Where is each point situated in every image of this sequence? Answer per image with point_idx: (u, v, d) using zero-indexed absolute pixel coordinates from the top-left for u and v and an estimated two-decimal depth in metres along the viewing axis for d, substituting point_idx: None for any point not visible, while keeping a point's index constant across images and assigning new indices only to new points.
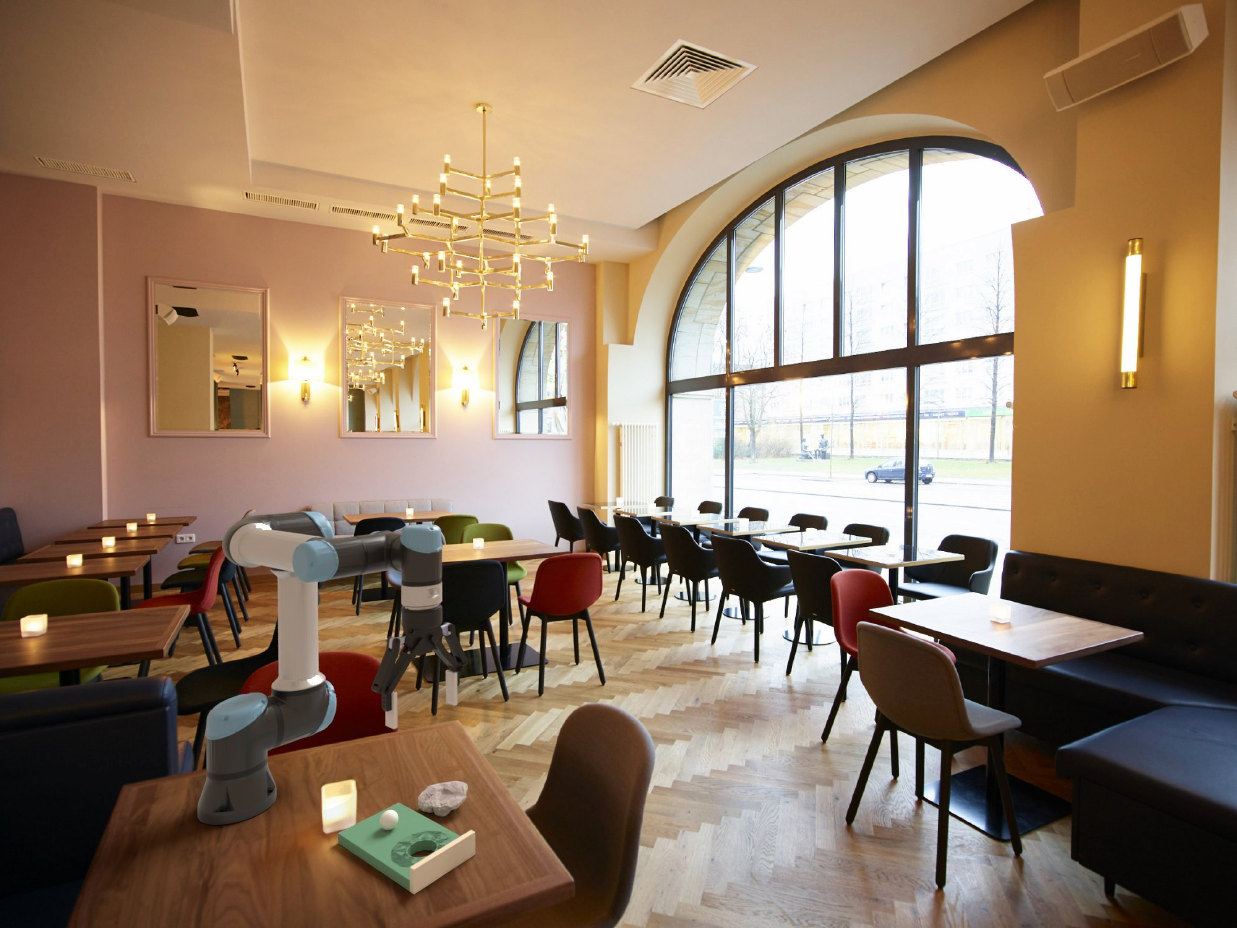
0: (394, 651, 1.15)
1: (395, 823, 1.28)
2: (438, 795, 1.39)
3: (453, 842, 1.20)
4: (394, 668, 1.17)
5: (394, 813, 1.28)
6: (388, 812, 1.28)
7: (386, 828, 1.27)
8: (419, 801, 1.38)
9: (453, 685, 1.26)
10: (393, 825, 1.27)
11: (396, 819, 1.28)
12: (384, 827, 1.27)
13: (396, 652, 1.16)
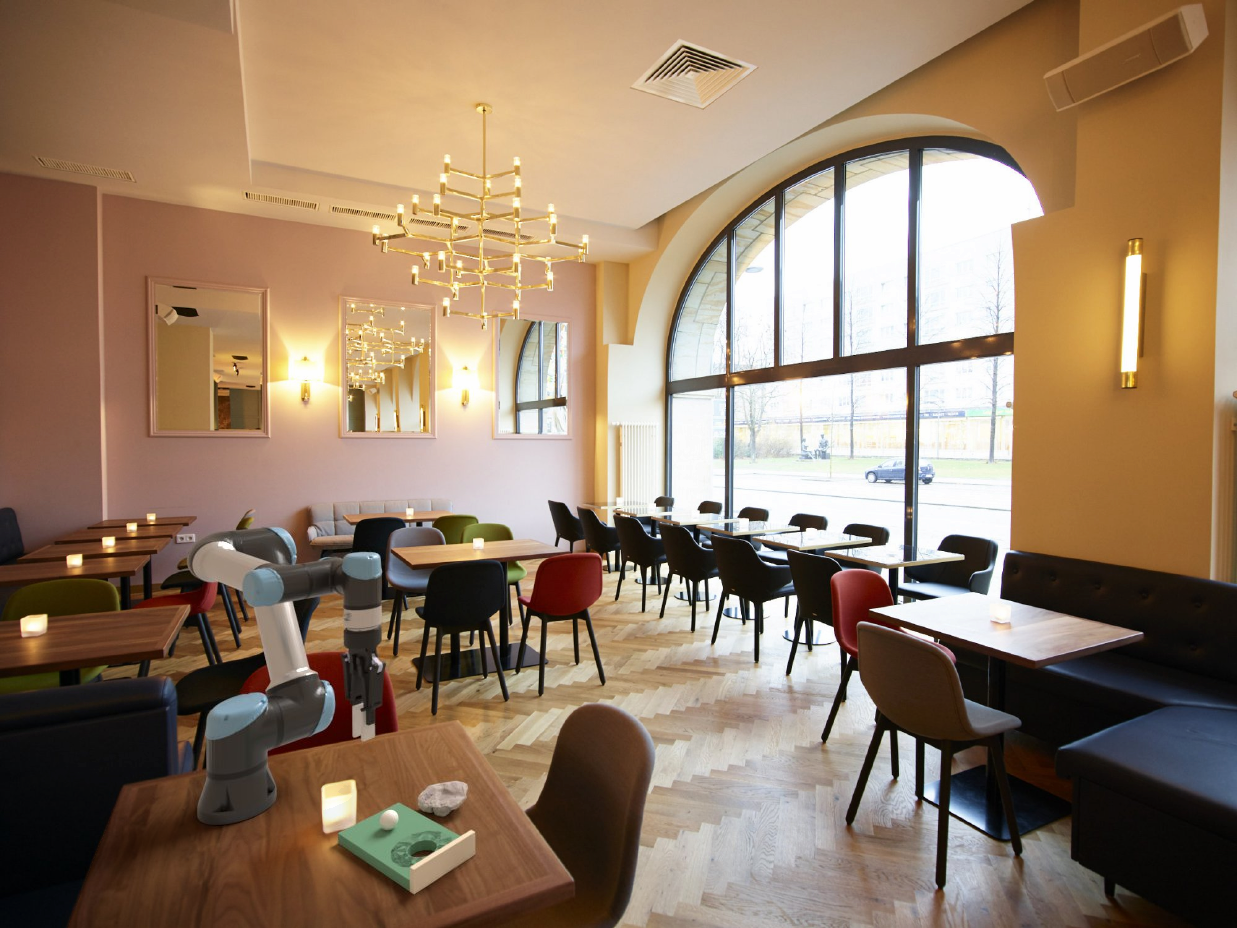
0: (343, 664, 1.36)
1: (395, 823, 1.28)
2: (438, 795, 1.39)
3: (453, 842, 1.20)
4: None
5: (394, 813, 1.28)
6: (388, 812, 1.28)
7: (386, 828, 1.27)
8: (419, 801, 1.38)
9: None
10: (393, 825, 1.27)
11: (396, 819, 1.28)
12: (384, 827, 1.27)
13: (344, 665, 1.35)
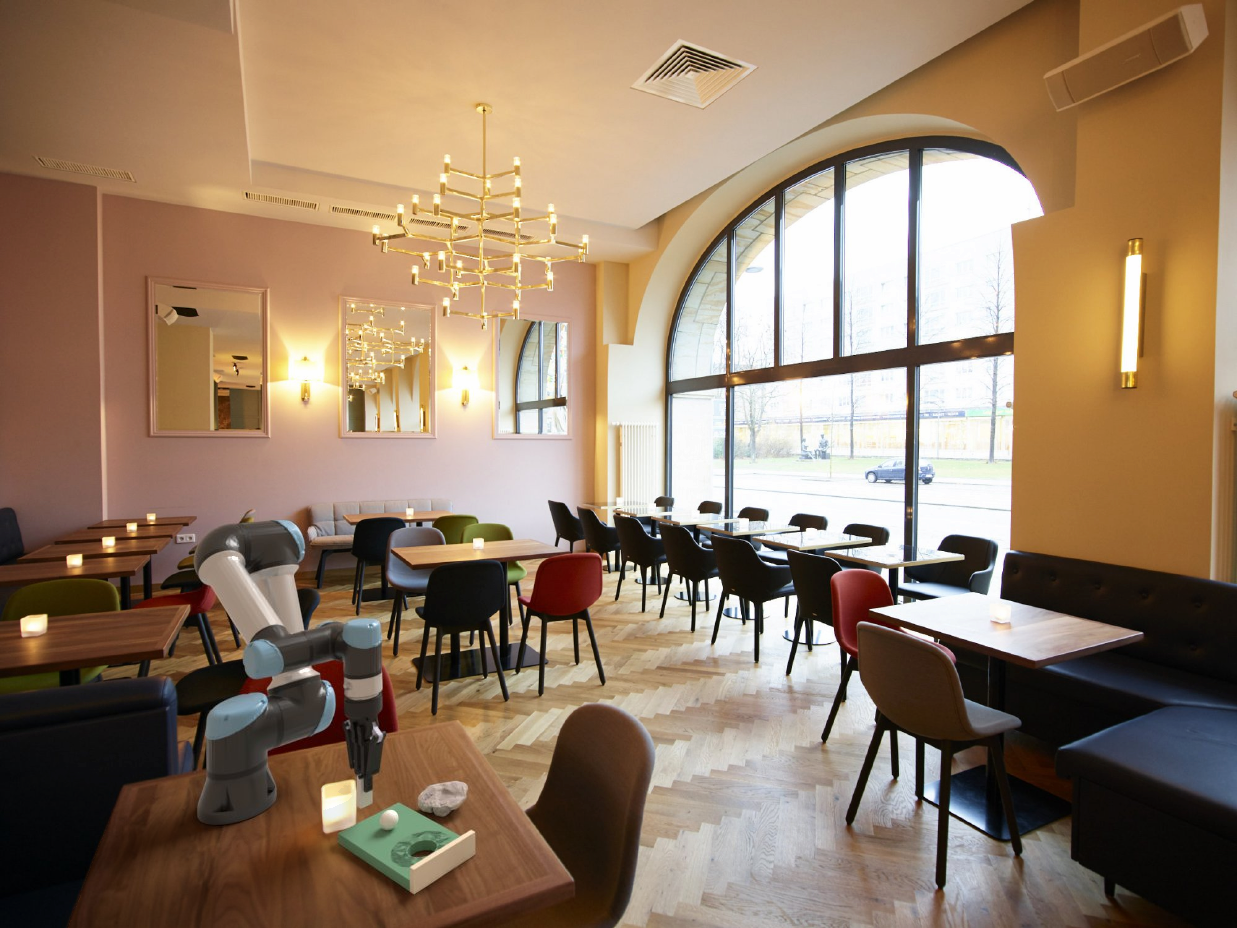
0: (345, 733, 1.36)
1: (395, 823, 1.28)
2: (438, 795, 1.39)
3: (453, 842, 1.20)
4: None
5: (394, 813, 1.28)
6: (388, 812, 1.28)
7: (386, 828, 1.27)
8: (419, 801, 1.38)
9: None
10: (393, 825, 1.27)
11: (396, 819, 1.28)
12: (384, 827, 1.27)
13: (346, 733, 1.35)
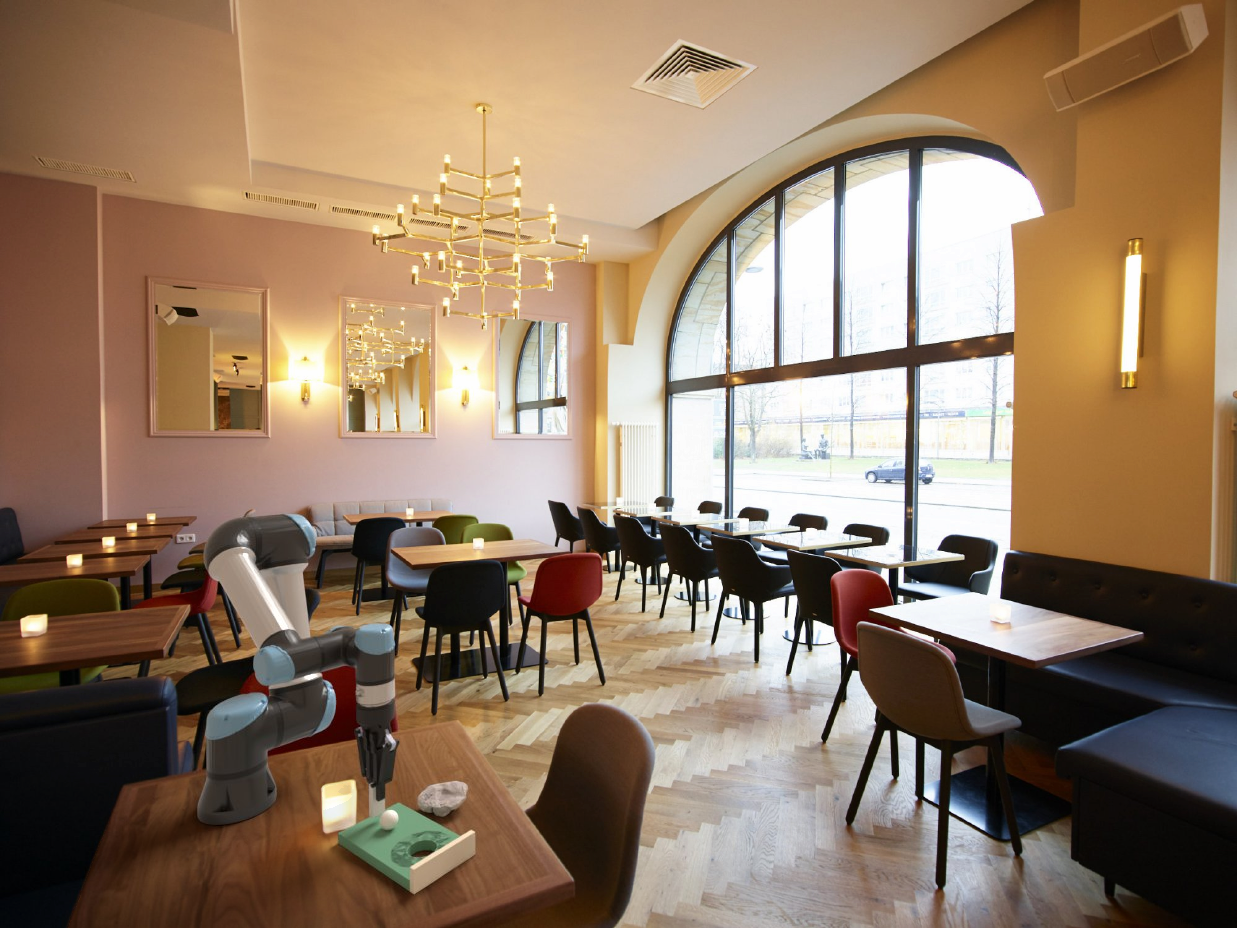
0: (357, 740, 1.33)
1: (395, 823, 1.28)
2: (438, 795, 1.39)
3: (453, 842, 1.20)
4: None
5: (394, 813, 1.28)
6: (388, 812, 1.28)
7: (386, 828, 1.27)
8: (419, 801, 1.38)
9: None
10: (393, 825, 1.27)
11: (396, 819, 1.28)
12: (384, 827, 1.27)
13: (358, 740, 1.33)
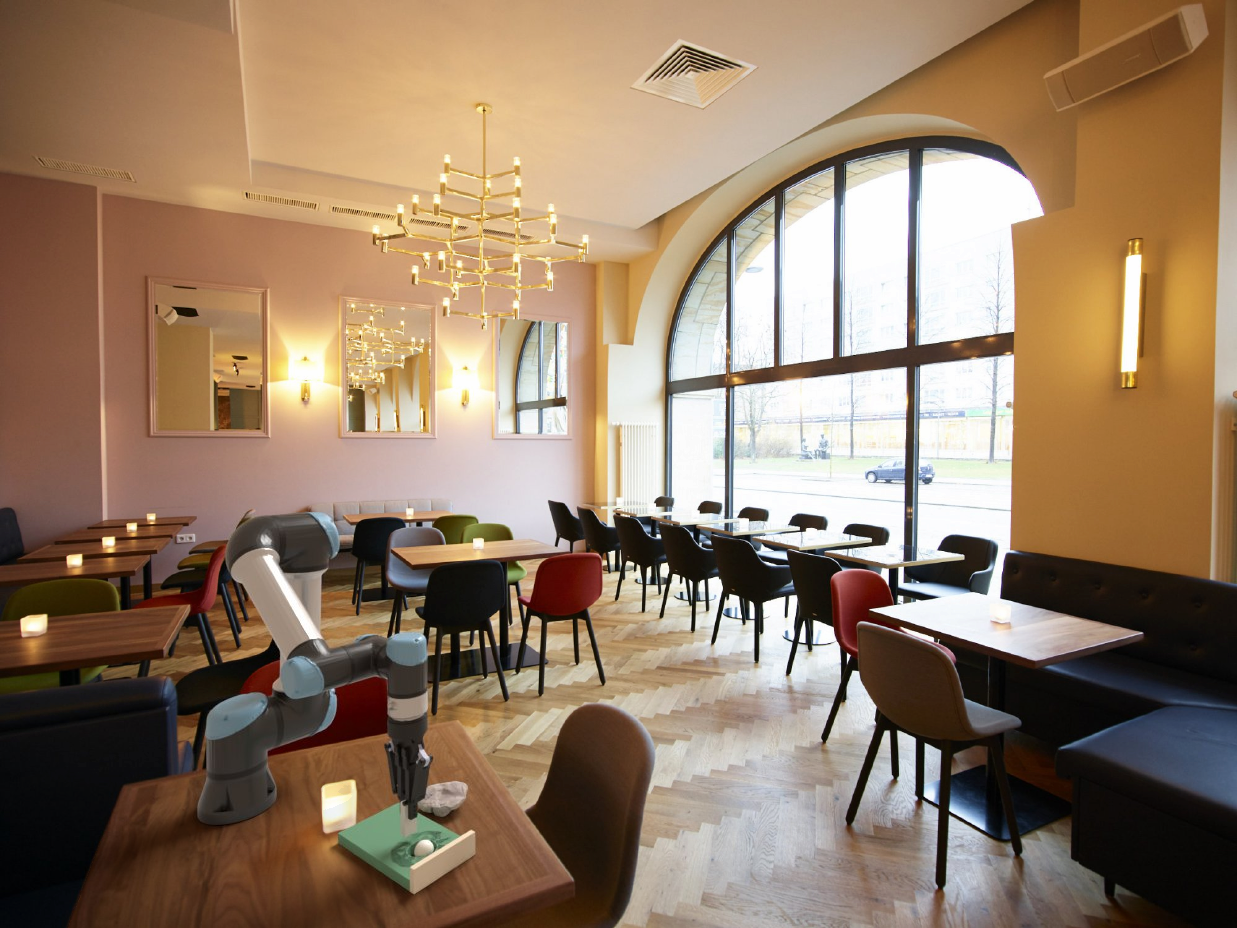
0: (387, 755, 1.26)
1: None
2: (438, 795, 1.39)
3: (453, 842, 1.20)
4: None
5: (431, 847, 1.21)
6: (426, 846, 1.20)
7: None
8: (419, 801, 1.38)
9: None
10: None
11: None
12: None
13: (388, 755, 1.26)
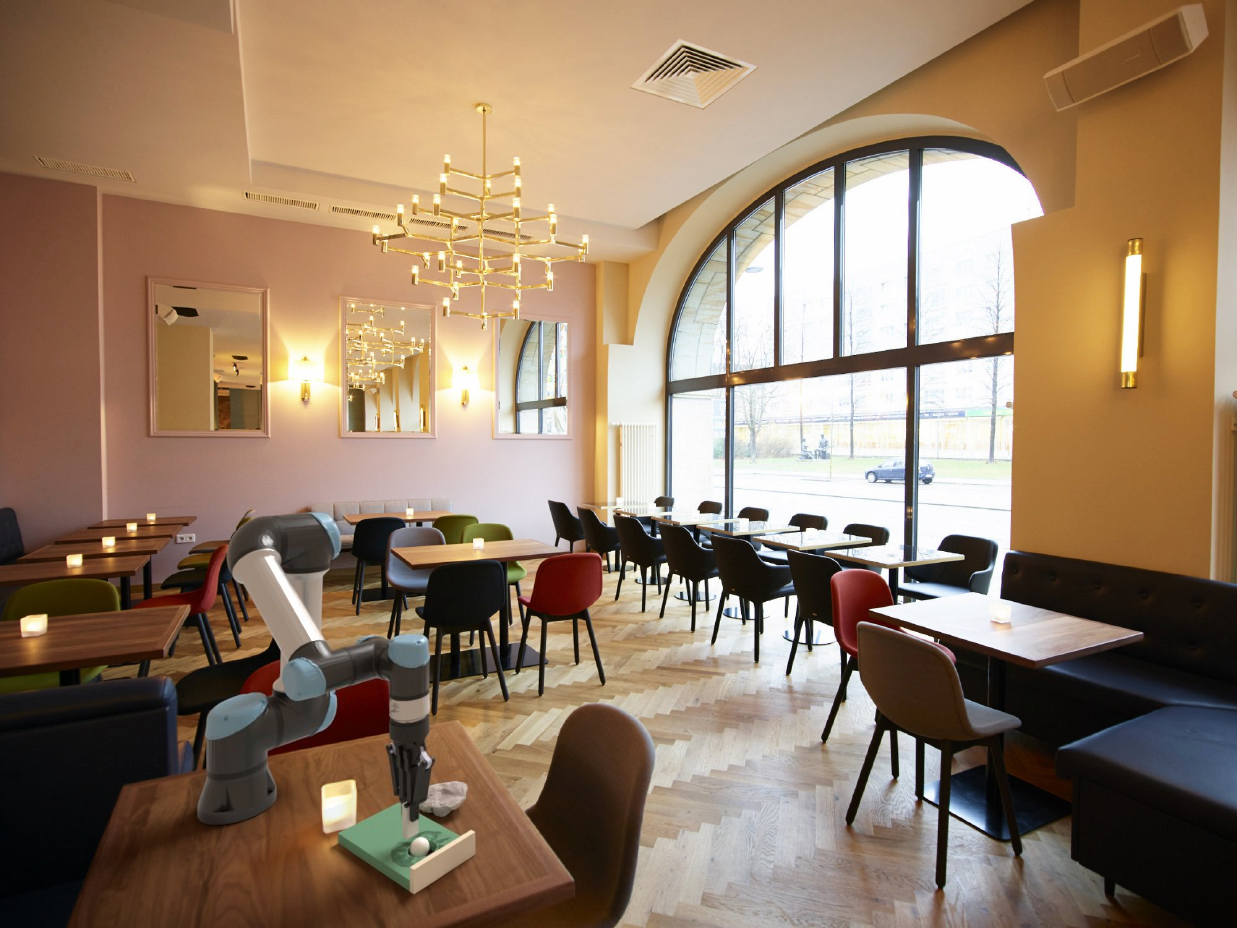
0: (389, 757, 1.26)
1: (426, 849, 1.22)
2: (437, 795, 1.39)
3: (453, 842, 1.20)
4: None
5: (424, 839, 1.22)
6: (417, 839, 1.22)
7: (417, 856, 1.21)
8: None
9: None
10: (424, 851, 1.21)
11: (427, 845, 1.22)
12: (415, 855, 1.21)
13: (390, 757, 1.26)
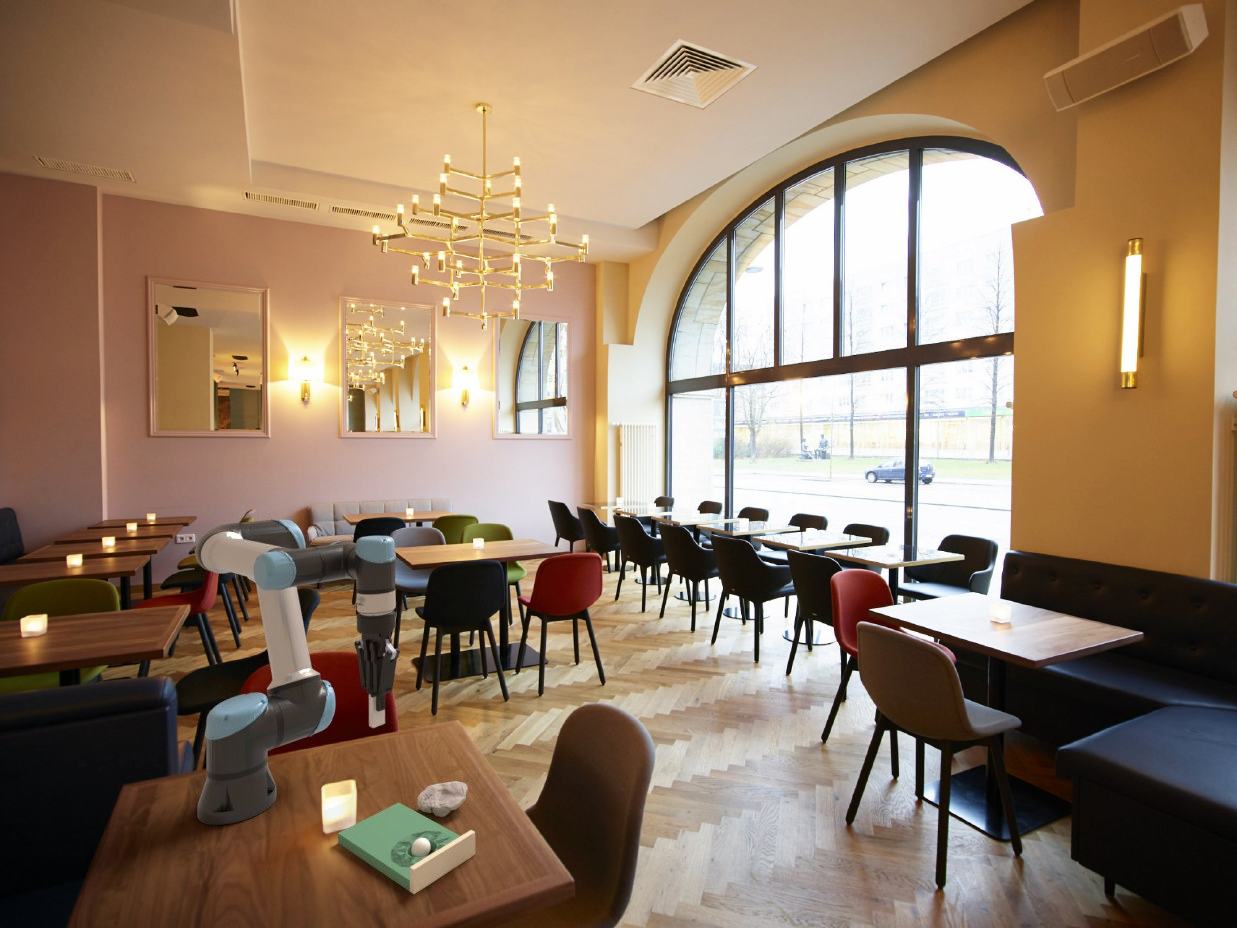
0: (357, 652, 1.32)
1: (427, 851, 1.21)
2: (437, 795, 1.39)
3: (453, 842, 1.20)
4: None
5: (426, 841, 1.22)
6: (419, 840, 1.22)
7: (418, 857, 1.20)
8: (419, 801, 1.38)
9: None
10: (425, 854, 1.21)
11: (428, 847, 1.22)
12: (416, 856, 1.20)
13: (358, 652, 1.32)
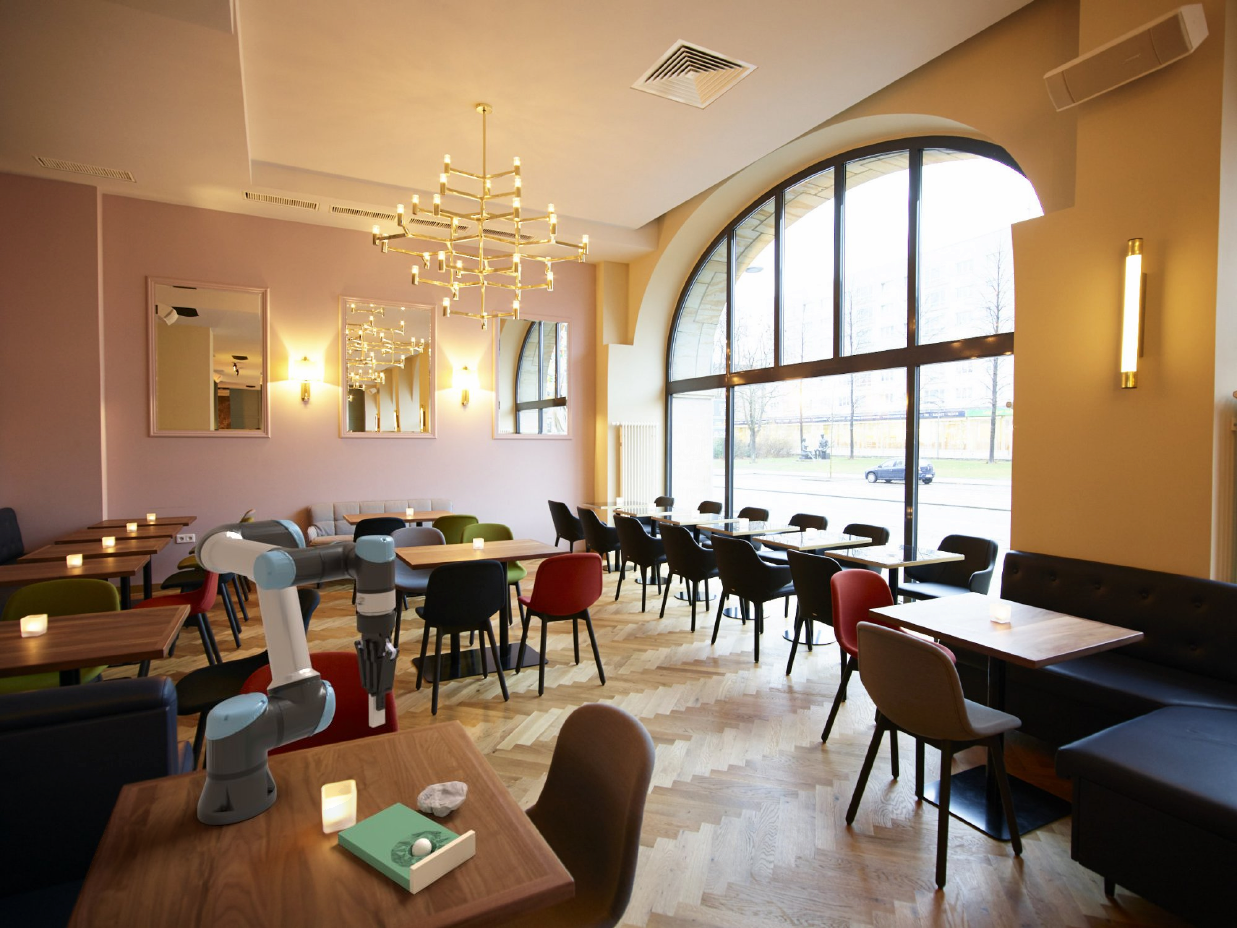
0: (357, 652, 1.32)
1: (428, 853, 1.21)
2: (437, 795, 1.39)
3: (453, 842, 1.20)
4: None
5: (427, 843, 1.22)
6: (421, 842, 1.21)
7: None
8: (419, 801, 1.38)
9: None
10: (426, 855, 1.21)
11: (429, 849, 1.21)
12: None
13: (358, 652, 1.32)
